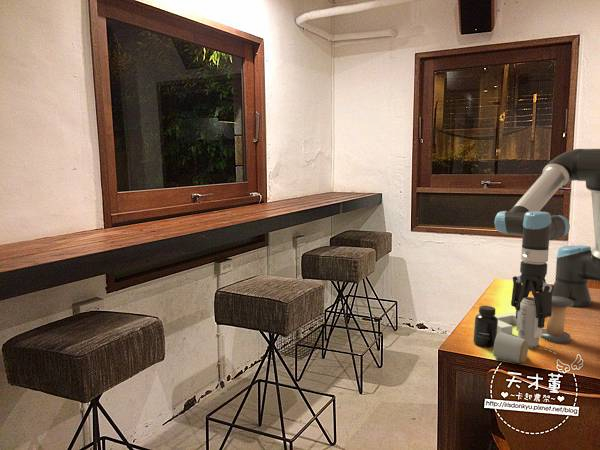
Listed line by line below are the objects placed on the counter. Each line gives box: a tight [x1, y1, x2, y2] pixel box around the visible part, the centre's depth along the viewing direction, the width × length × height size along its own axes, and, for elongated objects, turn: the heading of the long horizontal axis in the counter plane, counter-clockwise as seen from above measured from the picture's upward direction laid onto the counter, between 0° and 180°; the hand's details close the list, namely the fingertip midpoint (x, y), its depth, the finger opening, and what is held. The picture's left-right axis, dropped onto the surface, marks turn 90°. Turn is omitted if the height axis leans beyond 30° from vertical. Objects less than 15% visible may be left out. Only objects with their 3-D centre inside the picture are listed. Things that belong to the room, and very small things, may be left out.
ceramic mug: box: [492, 332, 529, 364], centre depth 146 cm, size 11×8×8 cm
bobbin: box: [540, 296, 574, 344], centre depth 162 cm, size 9×9×13 cm
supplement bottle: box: [473, 305, 498, 348], centre depth 157 cm, size 7×7×12 cm
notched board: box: [494, 312, 517, 335], centre depth 172 cm, size 18×10×3 cm, turn 113°
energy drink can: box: [517, 296, 540, 349], centre depth 156 cm, size 6×6×15 cm
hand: (528, 333), depth 156 cm, fingers closed on energy drink can, 6 cm apart
